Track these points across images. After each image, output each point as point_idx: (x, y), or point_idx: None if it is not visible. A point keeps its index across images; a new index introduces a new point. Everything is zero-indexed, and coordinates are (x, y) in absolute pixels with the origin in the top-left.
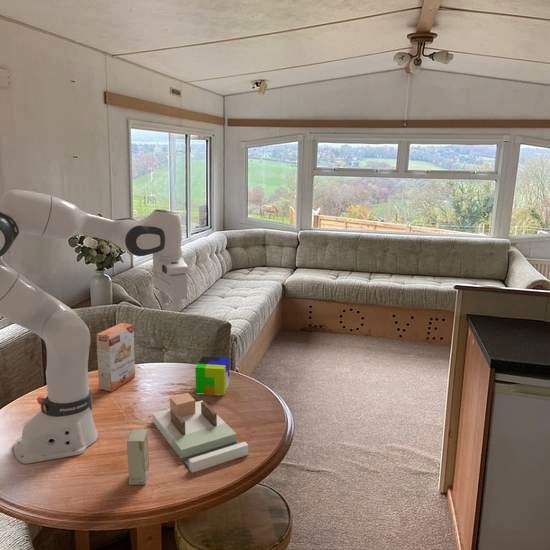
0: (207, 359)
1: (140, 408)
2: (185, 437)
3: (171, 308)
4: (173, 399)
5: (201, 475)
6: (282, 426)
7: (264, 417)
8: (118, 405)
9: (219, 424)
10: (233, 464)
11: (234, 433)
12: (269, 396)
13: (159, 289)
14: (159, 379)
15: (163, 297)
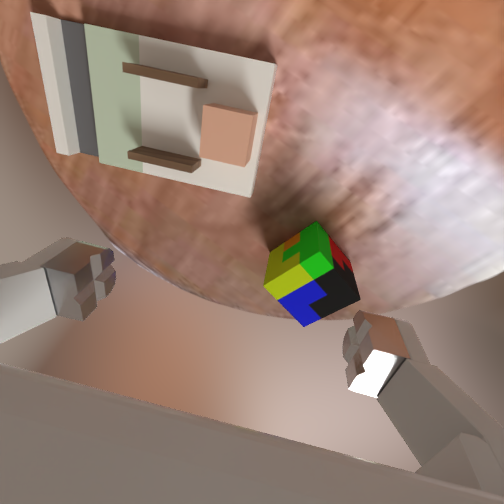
0: (335, 296)
1: (359, 78)
2: None
3: (100, 252)
4: (234, 115)
5: None
6: (124, 245)
7: (161, 246)
8: (427, 31)
9: None
10: None
11: (101, 159)
12: (216, 296)
13: (422, 481)
14: (447, 206)
15: (391, 376)
